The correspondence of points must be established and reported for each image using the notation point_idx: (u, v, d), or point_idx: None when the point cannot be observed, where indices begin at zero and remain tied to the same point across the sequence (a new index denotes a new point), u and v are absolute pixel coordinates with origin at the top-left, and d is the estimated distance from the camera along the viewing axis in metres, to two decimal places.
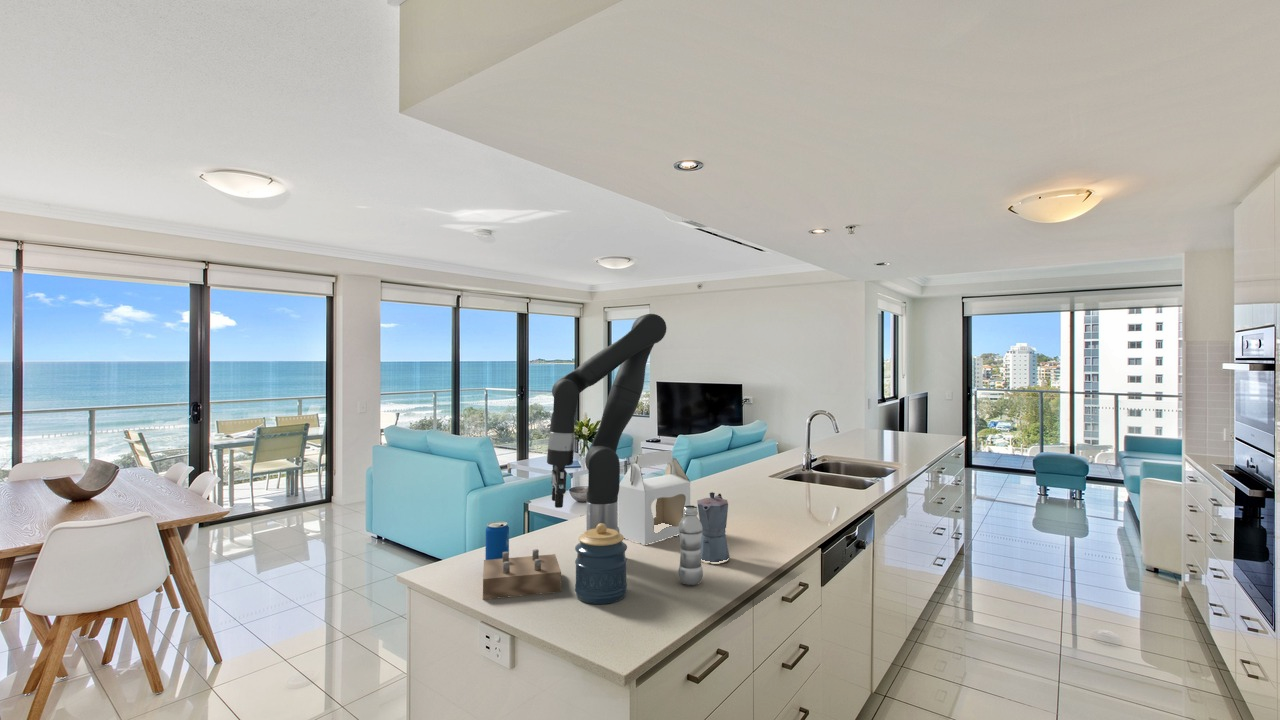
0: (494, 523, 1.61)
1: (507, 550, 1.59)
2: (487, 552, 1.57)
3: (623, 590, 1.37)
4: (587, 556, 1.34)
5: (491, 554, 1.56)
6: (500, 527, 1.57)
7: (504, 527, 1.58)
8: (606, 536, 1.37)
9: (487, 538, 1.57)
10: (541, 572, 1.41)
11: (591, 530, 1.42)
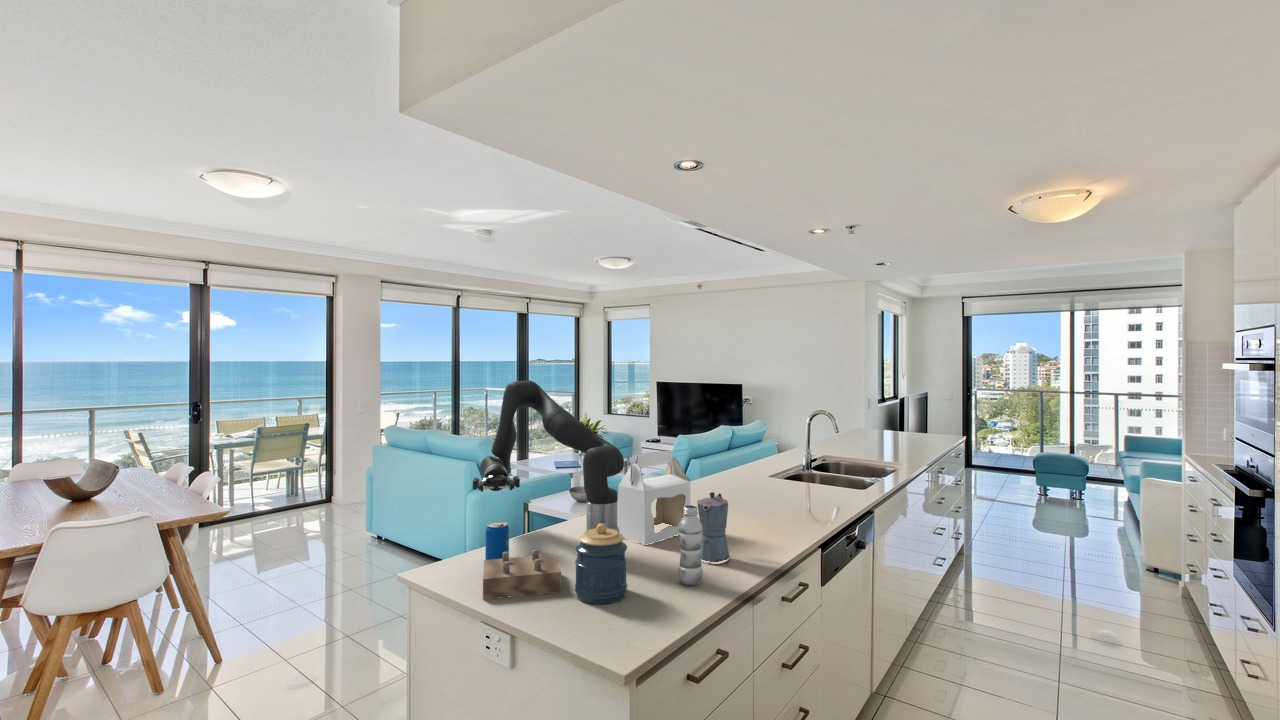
0: (494, 523, 1.61)
1: (507, 550, 1.59)
2: (487, 552, 1.57)
3: (623, 590, 1.37)
4: (587, 556, 1.34)
5: (491, 554, 1.56)
6: (500, 527, 1.57)
7: (504, 527, 1.58)
8: (606, 536, 1.37)
9: (487, 538, 1.57)
10: (541, 572, 1.41)
11: (591, 530, 1.42)
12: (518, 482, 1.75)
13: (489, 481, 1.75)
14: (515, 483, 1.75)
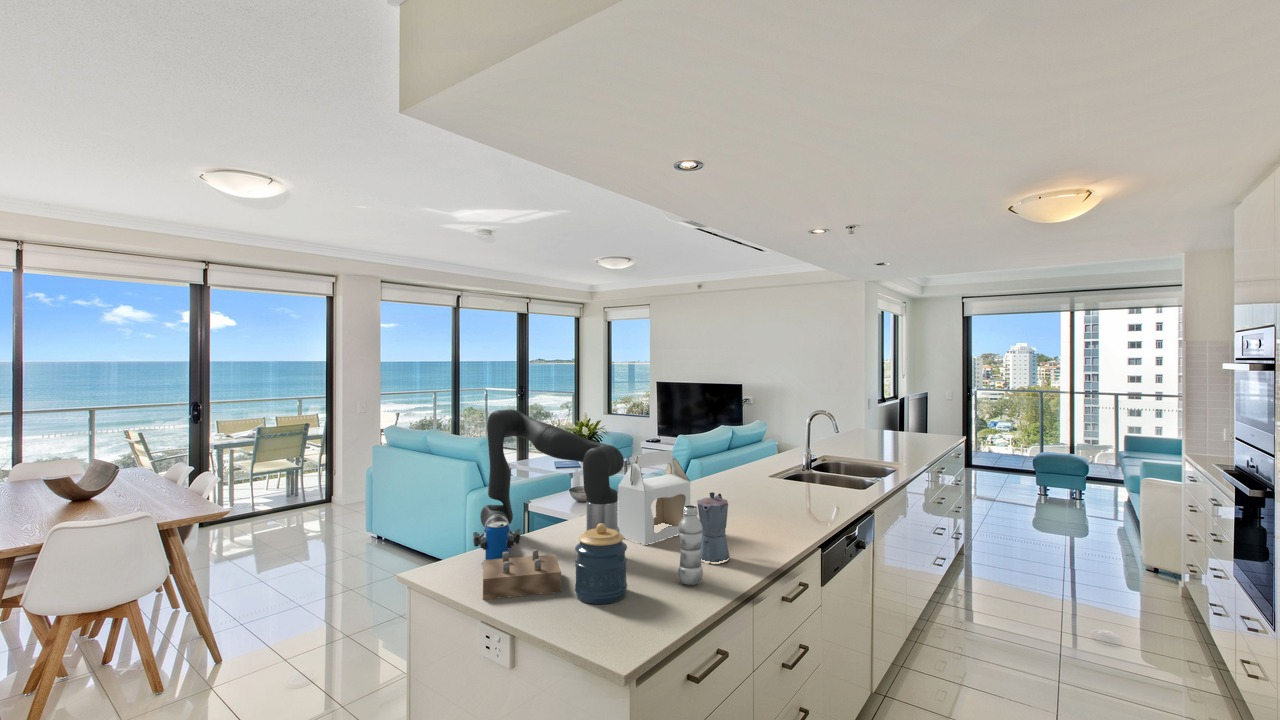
0: (494, 523, 1.61)
1: (507, 550, 1.59)
2: (487, 552, 1.57)
3: (623, 590, 1.37)
4: (587, 556, 1.34)
5: (491, 554, 1.56)
6: (500, 527, 1.57)
7: (504, 527, 1.58)
8: (606, 536, 1.37)
9: (487, 538, 1.57)
10: (541, 572, 1.41)
11: (591, 530, 1.42)
12: (518, 537, 1.63)
13: None
14: (514, 539, 1.62)
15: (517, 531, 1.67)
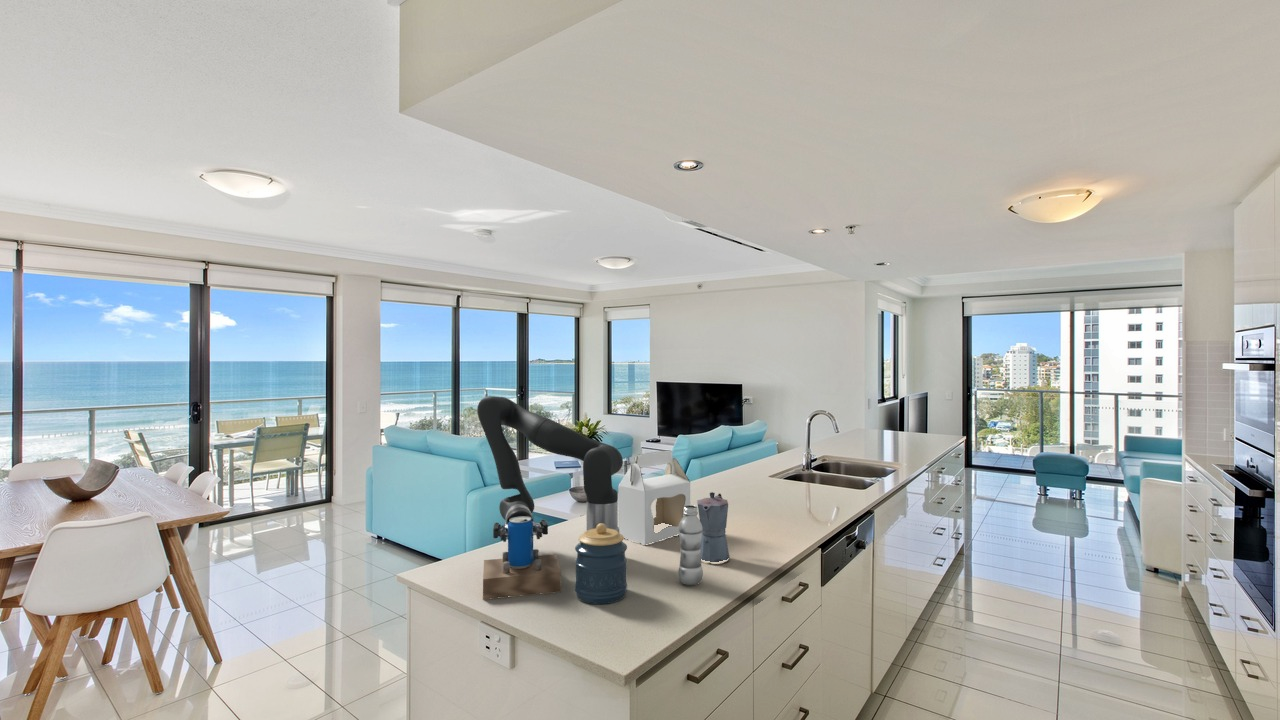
0: (516, 518, 1.47)
1: (532, 547, 1.45)
2: (510, 550, 1.43)
3: (623, 590, 1.37)
4: (587, 556, 1.34)
5: (515, 551, 1.43)
6: (524, 522, 1.44)
7: (528, 522, 1.44)
8: (606, 536, 1.37)
9: (510, 535, 1.43)
10: (541, 572, 1.41)
11: (591, 530, 1.42)
12: (546, 528, 1.50)
13: None
14: (543, 530, 1.49)
15: (543, 521, 1.53)
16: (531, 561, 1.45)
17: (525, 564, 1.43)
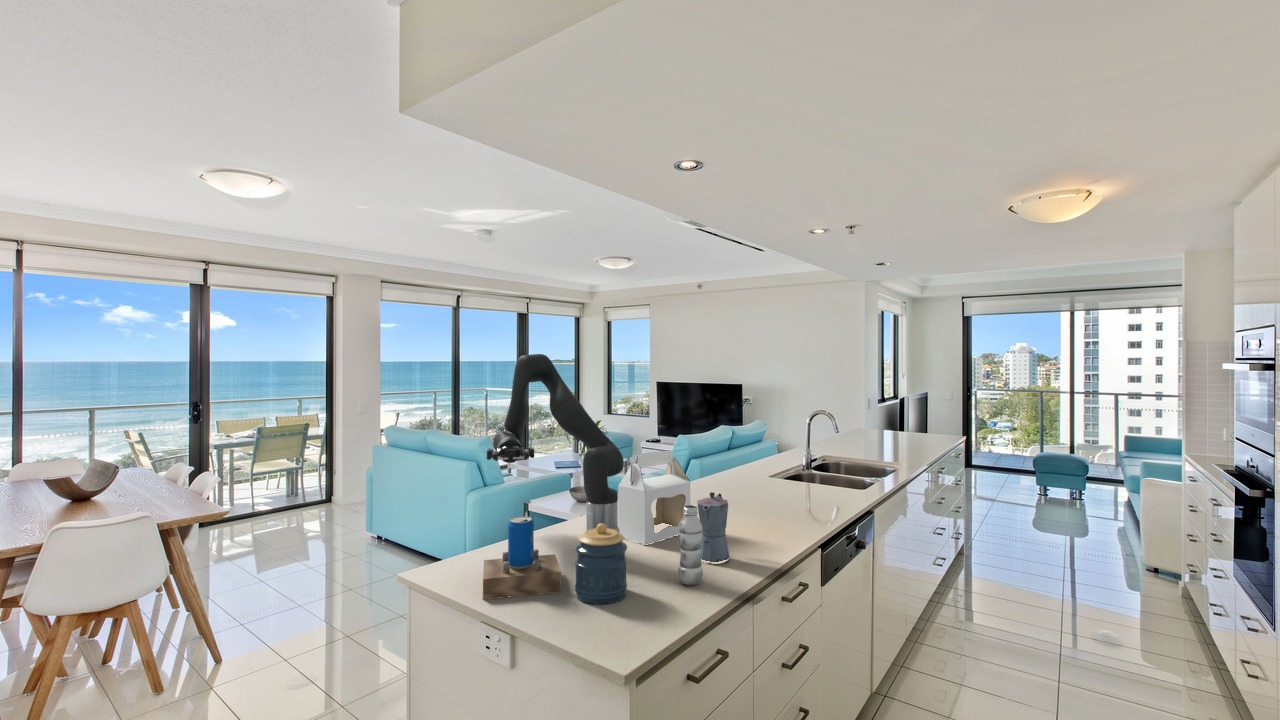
0: (517, 518, 1.47)
1: (532, 548, 1.45)
2: (510, 550, 1.43)
3: (623, 590, 1.37)
4: (587, 556, 1.34)
5: (515, 552, 1.43)
6: (524, 522, 1.44)
7: (529, 522, 1.44)
8: (606, 535, 1.37)
9: (510, 535, 1.43)
10: (541, 572, 1.41)
11: (591, 530, 1.42)
12: (533, 452, 1.73)
13: (503, 452, 1.73)
14: (530, 453, 1.72)
15: (530, 448, 1.76)
16: (531, 561, 1.45)
17: (525, 564, 1.43)
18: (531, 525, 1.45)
